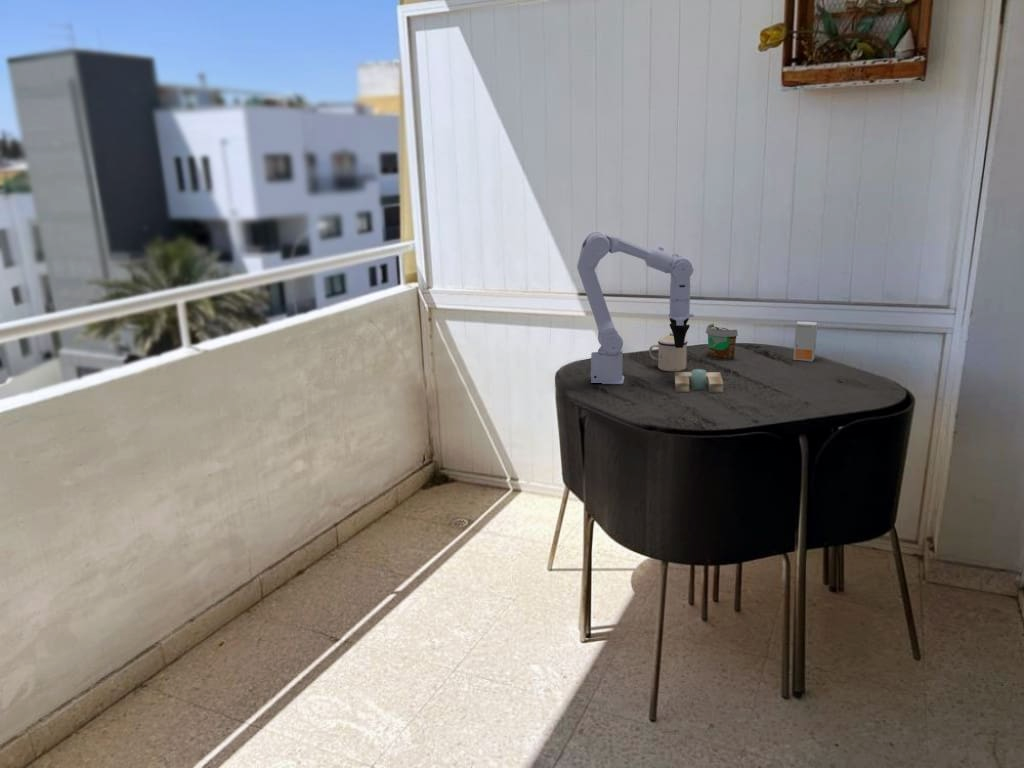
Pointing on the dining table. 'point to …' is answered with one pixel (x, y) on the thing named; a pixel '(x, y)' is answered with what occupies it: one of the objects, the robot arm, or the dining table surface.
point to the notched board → (712, 381)
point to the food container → (721, 342)
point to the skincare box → (805, 341)
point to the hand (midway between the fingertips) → (678, 344)
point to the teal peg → (698, 379)
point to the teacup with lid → (670, 354)
